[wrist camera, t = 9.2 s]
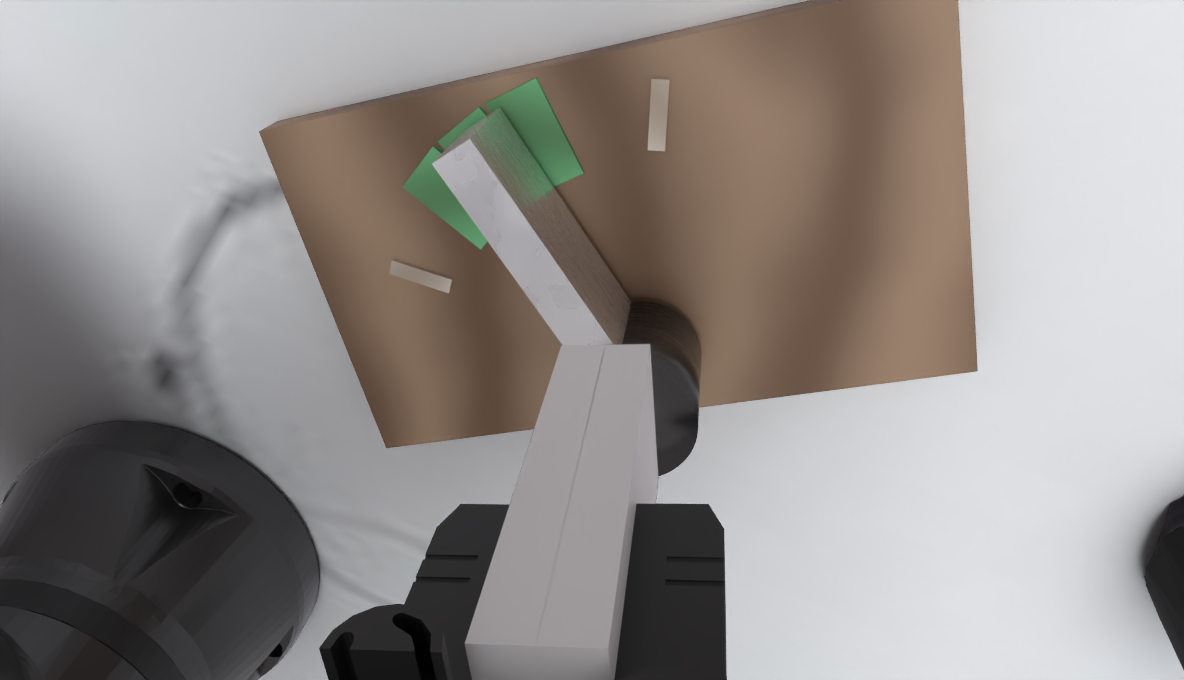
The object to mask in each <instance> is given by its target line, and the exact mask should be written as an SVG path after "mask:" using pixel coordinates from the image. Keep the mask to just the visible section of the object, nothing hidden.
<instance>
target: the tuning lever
mask: <svg viewBox="0 0 1184 680" xmlns="http://www.w3.org/2000/svg"><path fill="white" fill-rule="evenodd" d="M432 165H433V166H434V168H435V169H436V171H437V172H438V173H439V175H440V176H441V177H442V179H443V180H444V182H445V183H446V184H447V186H448V187H449V189H450V190H451V191H452V193H453V194H454V195H455V197H456V198H457V200H458V201H459V202H460V204H461V205H462V207H463V208H464V209H465V211H466V212H467V213H468V215H469V216H470V218H471V219H472V220H473V222H474V223H475V225H476V226H477V227H478V229H479V230H480V231H481V233H482V234H483V236H484V237H485V238H486V240H487V241H488V243H489V244H490V245H491V247H492V248H493V250H494V251H495V252H496V254H497V255H498V256H499V258H500V259H501V261H502V262H503V263H504V265H505V266H506V268H507V269H508V270H509V272H510V273H511V274H512V276H513V277H514V279H515V280H516V281H517V283H518V284H519V286H520V287H521V288H522V290H523V291H524V292H525V294H526V295H527V297H528V298H529V299H530V301H531V302H532V304H533V305H534V306H535V308H536V309H537V310H538V312H539V313H540V315H541V316H542V317H543V319H544V320H545V322H546V323H547V324H548V326H549V327H550V328H551V330H552V331H553V333H554V334H555V335H556V337H557V338H558V340H559V341H560V342H561V344H562V345H563V346H566V345H626V344H650V349H651V365H652V382H653V398H654V415H655V432H656V448H657V465H658V476H661V475H663V474H666V473H668V472H670V471H672V470H673V469H675V468H676V467H678V466H679V465H680V464H681V463H682V462H683V461H684V460H685V459H686V458H687V457H688V456H689V454H690V453H691V451H692V449H693V447H694V445H695V442H696V438H697V432H698V415H699V395H700V375H701V355H702V354H701V345H700V341H699V338H698V336H697V334H696V332H695V330H694V328H693V327H692V326H691V324H690V323H689V322H688V321H687V320H686V319H685V318H684V317H683V316H682V315H680V314H679V313H678V312H676V311H674V310H673V309H671V308H669V307H666V306H664V305H661V304H657V303H652V302H642V301H641V302H631V301H630V300H629V298H628V297H627V295H626V294H625V292H624V291H623V289H622V288H621V286H620V285H619V283H618V282H617V280H616V279H615V277H614V276H613V274H612V273H611V271H610V270H609V269H608V267H607V266H606V264H605V263H604V261H603V260H602V258H601V257H600V255H599V254H598V252H597V251H596V249H595V248H594V246H593V245H592V243H591V242H590V240H589V239H588V237H587V236H586V234H585V233H584V231H583V230H582V229H581V227H580V226H579V224H578V223H577V221H576V220H575V218H574V217H573V215H572V214H571V212H570V211H569V209H568V208H567V206H566V205H565V203H564V202H563V200H562V199H561V197H560V196H559V194H558V193H557V191H556V190H555V189H554V187H553V186H552V184H551V183H550V181H549V180H548V178H547V177H546V175H545V174H544V172H543V171H542V169H541V168H540V166H539V165H538V163H537V162H536V160H535V159H534V157H533V156H532V154H531V153H530V151H529V150H528V148H527V147H526V146H525V144H524V143H523V141H522V140H521V138H520V137H519V135H518V134H517V132H516V131H515V129H514V128H513V126H512V125H511V123H510V122H509V120H508V119H507V117H506V116H505V114H504V113H503V111H502V110H501V108H500V107H499V108H497V109H496V110H494V111H493V112H491V113H490V114H488V115H487V116H485V117H484V118H482V119H481V120H479V121H478V122H476V123H475V124H473V125H472V126H470V127H469V128H467V129H466V130H465V131H464V132H463V133H462V134H461V135H460V136H459V137H458V138H457V139H456V140H455V141H454V142H453V143H452V144H451V145H450V146H449V147H448V148H447V149H446V150H445V151H444V152H443V153H442V154H441V155H440V156H439V157H438V158H437V159H436V160H435V161H434V162H433V163H432Z"/></svg>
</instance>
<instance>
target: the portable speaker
mask: <svg viewBox="0 0 1184 680" xmlns="http://www.w3.org/2000/svg"><path fill="white" fill-rule="evenodd" d="M1144 577H1145V581H1146V586H1147V589H1148V591H1149V594H1150V596H1151V599H1152V601H1153V603H1154V606H1155V608H1156V611H1157V613H1158V616H1159V618H1160V620H1161V622H1162V624H1163V626H1164V629H1165V631H1166V633H1167V635H1168V637H1169V639H1170V641H1171V644H1172V646H1173V648H1174V650H1175V652H1176V654H1177V656H1178V659H1179V661H1180V663H1181V665H1182V667H1183V669H1184V498H1182V499H1180V500H1178V501H1176V502H1174V503H1172V504H1170V507H1169V511H1168V514H1167V518H1166V521H1165V525H1164V529H1163V531H1162V534H1161V536H1160V538H1159V541H1158V543H1157V545H1156V548H1155V550H1154V553H1153V555H1152V557H1151V559H1150V561H1149V564H1148V566H1147V568H1146V576H1144Z"/></svg>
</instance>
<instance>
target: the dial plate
mask: <svg viewBox="0 0 1184 680" xmlns="http://www.w3.org/2000/svg"><path fill="white" fill-rule="evenodd" d="M499 107H500V108H501V110H502V111H503V113H504V114H505V116H506V117H507V119H508V120H509V122H510V123H511V125H512V126H513V128H514V129H515V131H516V132H517V134H518V135H519V137H520V138H521V140H522V141H523V143H524V144H525V146H526V147H527V148H528V150H529V151H530V153H531V154H532V156H533V157H534V159H535V160H536V162H537V163H538V165H539V166H540V168H541V169H542V171H543V172H544V174H545V175H546V177H547V178H548V180H549V181H550V183H551V184H552V186H553V187H554V189H555V190H556V191H557V193H558V194H559V196H560V197H561V199H562V200H563V202H564V203H565V205H566V206H567V208H568V209H569V211H570V212H571V214H572V215H573V217H574V218H575V220H576V221H577V223H578V224H579V226H580V227H581V229H582V230H583V231H584V233H585V234H586V236H587V237H588V239H589V240H590V242H591V243H592V245H593V246H594V248H595V249H596V251H597V252H598V254H599V255H600V257H601V258H602V260H603V261H604V263H605V264H606V266H607V267H608V269H609V270H610V271H611V273H612V274H613V276H614V277H615V279H616V280H617V282H618V283H619V285H620V286H621V288H622V289H623V291H624V292H625V294H626V295H627V297H628V298H629V300H630V301H631V302H641V301H642V302H652V303H657V304H661V305H664V306H666V307H669V308H671V309H673V310H674V311H676V312H678V313H679V314H680V315H682V316H683V317H684V318H685V319H686V320H687V321H688V322H689V323H690V324H691V326H692V327H693V328H694V330H695V332H696V334H697V336H698V338H699V341H700V345H701V354H702V355H701V375H700V395H699V407H706V406H714V405H721V404H729V403H737V402H744V401H752V400H760V399H767V398H775V397H783V396H790V395H798V394H806V393H813V392H821V391H829V390H837V389H844V388H852V387H860V386H867V385H875V384H883V383H890V382H898V381H906V380H913V379H921V378H929V377H936V376H944V375H952V374H959V373H967V372H975V371H977V352H976V333H975V314H974V295H973V276H972V257H971V239H970V220H969V201H968V182H967V163H966V144H965V125H964V106H963V87H962V69H961V50H960V31H959V12H958V0H810V1H806V2H801V3H797V4H793V5H788V6H784V7H779V8H775V9H771V10H766V11H762V12H757V13H753V14H749V15H744V16H740V17H735V18H731V19H726V20H722V21H718V22H713V23H709V24H704V25H700V26H696V27H691V28H687V29H682V30H678V31H674V32H669V33H665V34H660V35H656V36H652V37H647V38H643V39H638V40H634V41H629V42H625V43H621V44H616V45H612V46H607V47H603V48H599V49H594V50H590V51H585V52H581V53H577V54H572V55H568V56H563V57H559V58H555V59H550V60H546V61H541V62H537V63H532V64H528V65H524V66H519V67H515V68H510V69H506V70H502V71H497V72H493V73H488V74H484V75H480V76H475V77H471V78H466V79H462V80H458V81H453V82H449V83H444V84H440V85H435V86H431V87H427V88H422V89H418V90H413V91H409V92H405V93H400V94H396V95H391V96H387V97H383V98H378V99H374V100H369V101H365V102H361V103H356V104H352V105H347V106H343V107H338V108H334V109H330V110H325V111H321V112H316V113H312V114H308V115H303V116H299V117H294V118H290V119H286V120H281V121H277V122H275V123H274V124H272V125H270V126H268V127H266V128H265V129H263V130H261V131H259V133H260V136H261V138H262V141H263V143H264V145H265V148H266V150H267V153H268V155H269V158H270V160H271V163H272V165H273V168H274V170H275V173H276V175H277V178H278V180H279V183H280V185H281V188H282V190H283V193H284V195H285V198H286V200H287V203H288V205H289V207H290V210H291V212H292V215H293V217H294V220H295V222H296V225H297V227H298V230H299V232H300V235H301V237H302V240H303V242H304V245H305V247H306V250H307V252H308V255H309V257H310V260H311V262H312V265H313V267H314V269H315V272H316V274H317V277H318V279H319V282H320V284H321V287H322V289H323V292H324V294H325V297H326V299H327V302H328V304H329V307H330V309H331V312H332V314H333V317H334V319H335V322H336V324H337V326H338V329H339V331H340V334H341V336H342V339H343V341H344V344H345V346H346V349H347V351H348V354H349V356H350V359H351V361H352V364H353V366H354V369H355V371H356V374H357V376H358V379H359V381H360V384H361V386H362V388H363V391H364V393H365V396H366V398H367V401H368V403H369V406H370V408H371V411H372V413H373V416H374V418H375V421H376V423H377V426H378V428H379V431H380V433H381V436H382V438H383V441H384V443H385V446H386V448H392V447H399V446H407V445H415V444H422V443H430V442H438V441H445V440H453V439H461V438H468V437H476V436H484V435H491V434H499V433H507V432H514V431H522V430H530V429H534V428H535V425H536V422H537V419H538V416H539V413H540V410H541V407H542V403H543V400H544V397H545V394H546V391H547V388H548V385H549V382H550V379H551V376H552V373H553V370H554V366H555V363H556V360H557V357H558V354H559V351H560V348H561V346H563V345H562V344H561V342H560V341H559V340H558V338H557V337H556V335H555V334H554V333H553V331H552V330H551V328H550V327H549V326H548V324H547V323H546V322H545V320H544V319H543V317H542V316H541V315H540V313H539V312H538V310H537V309H536V308H535V306H534V305H533V304H532V302H531V301H530V299H529V298H528V297H527V295H526V294H525V292H524V291H523V290H522V288H521V287H520V286H519V284H518V283H517V281H516V280H515V279H514V277H513V276H512V274H511V273H510V272H509V270H508V269H507V268H506V266H505V265H504V263H503V262H502V261H501V259H500V258H499V256H498V255H497V254H496V252H495V251H494V250H493V248H492V247H491V245H490V244H489V243H488V241H487V240H486V238H485V237H484V236H483V234H482V233H481V231H480V230H479V229H478V227H477V226H476V225H475V223H474V222H473V220H472V219H471V218H470V216H469V215H468V213H467V212H466V211H465V209H464V208H463V207H462V205H461V204H460V202H459V201H458V200H457V198H456V197H455V195H454V194H453V193H452V191H451V190H450V189H449V187H448V186H447V184H446V183H445V182H444V180H443V179H442V177H441V176H440V175H439V173H438V172H437V171H436V169H435V168H434V166H433V165H432V163H433V162H434V161H435V160H436V159H437V158H438V157H439V156H440V155H441V154H442V153H443V152H444V151H445V150H446V149H447V148H448V147H449V146H450V145H451V144H452V143H453V142H454V141H455V140H456V139H457V138H458V137H459V136H460V135H461V134H462V133H463V132H464V131H465V130H466V129H467V128H469V127H470V126H472V125H473V124H475V123H476V122H478V121H479V120H481V119H482V118H484V117H485V116H487V115H488V114H490V113H491V112H493V111H494V110H496V109H497V108H499Z"/></svg>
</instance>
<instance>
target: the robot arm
mask: <svg viewBox="0 0 1184 680" xmlns="http://www.w3.org/2000/svg"><path fill="white" fill-rule="evenodd" d="M657 487H658V465H657V448H656V432H655V415H654V398H653V382H652V365H651V349H650V344H626V345H566V346H561V348H560V351H559V354H558V357H557V360H556V363H555V366H554V370H553V373H552V376H551V379H550V382H549V385H548V388H547V391H546V394H545V397H544V400H543V403H542V407H541V410H540V413H539V416H538V419H537V422H536V425H535V428H534V431H533V434H532V437H531V440H530V444H529V447H528V450H527V453H526V456H525V459H524V462H523V465H522V468H521V471H520V474H519V477H518V481H517V484H516V487H515V490H514V493H513V496H512V499H511V502H510V505H497V504H460V505H459V506H458V507H457V508H456V509H455V510H454V511H453V512H452V513H451V514H450V515H449V516H448V517H447V518H446V519H445V520H444V521H443V522H442V523H441V524H440V525H439V526H438V527H437V528H436V531H435V533H434V535H433V538H432V540H431V542H430V545H429V547H428V550H427V552H426V558H425V560H423V561H422V564H421V566H420V568H419V571H418V573H417V576H416V582H414V583H413V585H412V587H411V590H410V592H409V594H408V597H407V599H406V601H405V604H404V605H403V604H394V605H386V606H377V607H374V608H371V609H369V610H366V611H364V612H361V613H359V614H356V615H353V616H352V617H350V618H349V619H348V620H346V621H345V622H343V623H342V624H341V625H339V626H338V627H337V628H335V629H334V630H333V631H332V632H331V633H330V635H329V636H328V637H327V639H326V640H325V641H324V643H323V644H322V645H321V647H320V648H319V649H320V653H321V656H322V659H323V662H324V666H325V669H326V672H327V676H328V679H329V680H727V676H726V604H725V553H724V528H723V527H722V525H721V523H720V522H719V520H718V519H717V517H716V515H715V514H714V512H713V511H712V509H711V507H710V506H709V504H656V498H657ZM318 588H319V569H318V562H317V558H316V554H315V550H314V547H313V544H312V541H311V539H310V537H309V534H308V532H307V530H306V528H305V527H304V525H303V523H302V521H301V520H300V518H299V516H298V515H297V513H296V512H295V511H294V509H293V508H292V506H291V505H290V504H289V503H288V501H287V500H286V499H285V498H284V497H283V495H282V494H281V493H280V492H279V491H278V490H277V489H276V488H275V487H274V486H273V485H272V484H271V483H270V482H269V481H268V480H267V479H266V478H265V477H263V476H262V475H261V474H260V473H259V472H257V471H256V470H255V469H254V468H252V467H251V466H250V465H248V464H247V463H246V462H244V461H243V460H241V459H240V458H238V457H237V456H235V455H233V454H232V453H230V452H229V451H227V450H225V449H223V448H221V447H219V446H218V445H216V444H213V443H211V442H209V441H207V440H205V439H203V438H200V437H198V436H195V435H193V434H190V433H187V432H184V431H181V430H177V429H174V428H170V427H166V426H162V425H156V424H150V423H142V422H109V423H101V424H96V425H92V426H88V427H85V428H82V429H79V430H77V431H74V432H72V433H70V434H68V435H66V436H65V437H63V438H62V439H60V440H59V441H57V442H56V443H55V444H54V445H52V446H51V447H50V448H49V449H48V450H47V451H45V452H44V453H43V454H42V455H41V456H40V457H39V458H37V459H36V460H35V461H34V462H33V463H32V464H30V465H29V466H28V467H27V468H26V469H25V470H24V471H23V472H22V473H21V474H20V475H19V477H18V478H17V479H16V480H15V482H14V483H13V484H12V486H11V487H10V489H9V490H8V492H7V494H6V496H5V498H4V501H3V505H2V507H1V509H0V680H258V679H259V678H260V677H261V676H263V675H264V674H266V673H267V672H268V671H270V670H271V669H272V668H273V667H274V666H275V665H276V664H278V663H279V662H280V661H281V660H282V659H283V657H284V656H285V655H286V654H287V652H288V651H289V650H290V649H291V647H292V646H293V644H294V643H295V641H296V639H297V637H298V636H299V634H300V632H301V630H302V628H303V627H304V625H305V623H306V621H307V619H308V618H309V616H310V614H311V612H312V610H313V608H314V605H315V602H316V599H317V595H318Z"/></svg>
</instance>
